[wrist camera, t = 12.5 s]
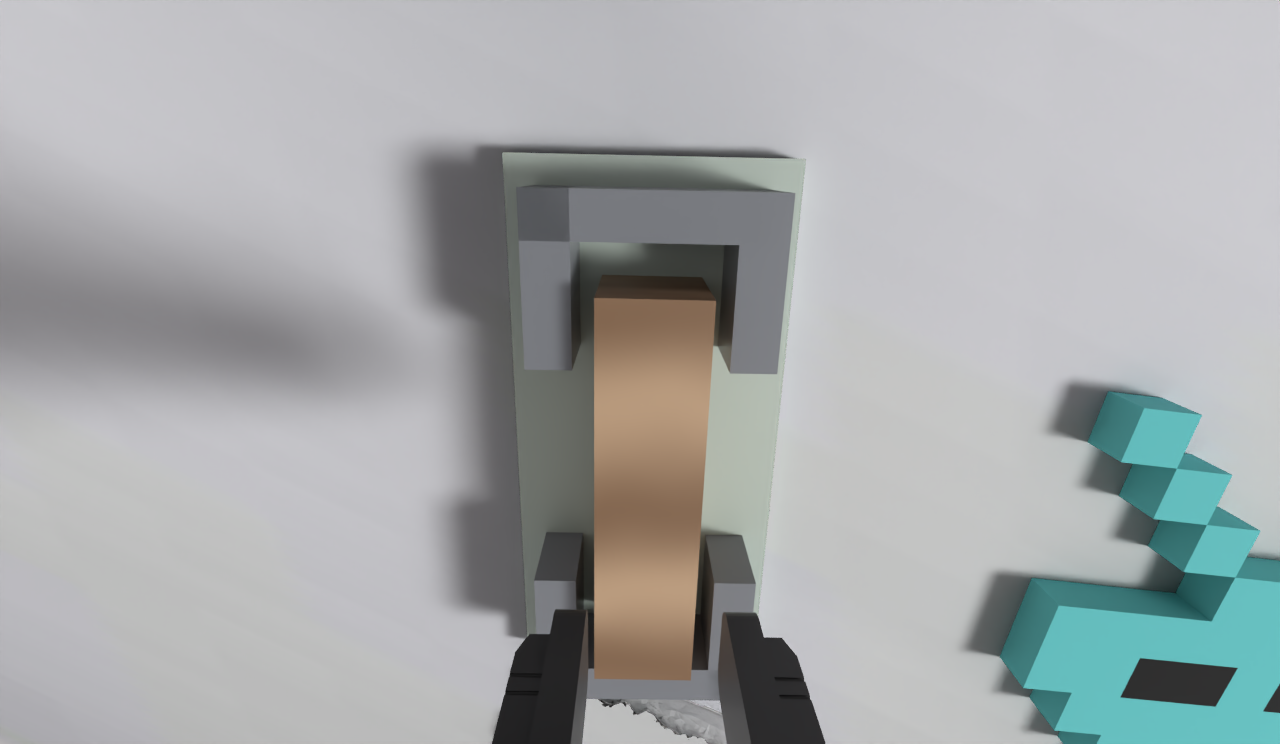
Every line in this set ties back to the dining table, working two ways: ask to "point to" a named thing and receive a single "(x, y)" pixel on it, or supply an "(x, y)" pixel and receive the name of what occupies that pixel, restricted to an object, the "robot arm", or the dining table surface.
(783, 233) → the end caps
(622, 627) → the slat
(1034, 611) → the alien figure
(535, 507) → the cradle board
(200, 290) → the dining table surface
